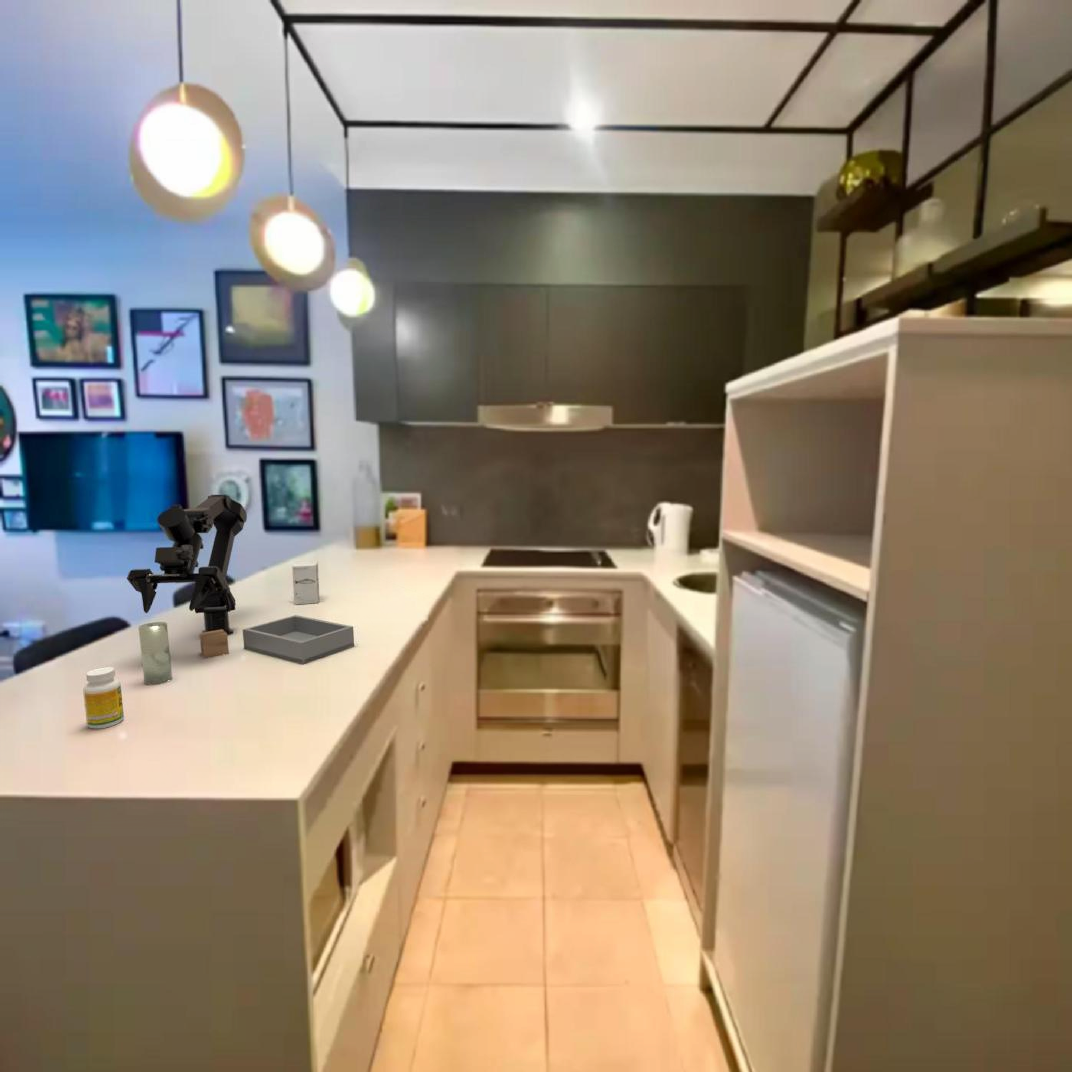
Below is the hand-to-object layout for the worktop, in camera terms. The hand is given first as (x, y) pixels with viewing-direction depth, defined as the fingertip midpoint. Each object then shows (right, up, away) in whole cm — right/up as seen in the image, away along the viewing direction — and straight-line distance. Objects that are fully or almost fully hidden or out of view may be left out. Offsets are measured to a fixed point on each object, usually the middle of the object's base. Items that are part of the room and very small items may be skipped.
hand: (168, 611), depth 132 cm
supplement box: (+7, -5, +62) cm, 63 cm away
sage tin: (+1, -14, -6) cm, 15 cm away
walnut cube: (+4, -12, +12) cm, 17 cm away
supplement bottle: (+5, -17, -26) cm, 31 cm away
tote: (+23, -11, +15) cm, 30 cm away
